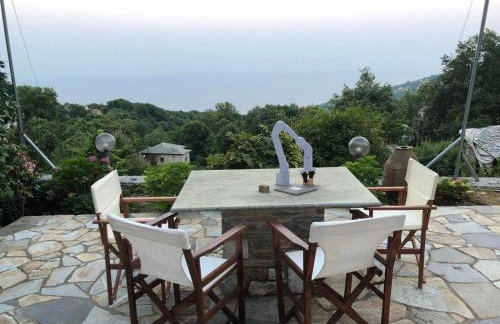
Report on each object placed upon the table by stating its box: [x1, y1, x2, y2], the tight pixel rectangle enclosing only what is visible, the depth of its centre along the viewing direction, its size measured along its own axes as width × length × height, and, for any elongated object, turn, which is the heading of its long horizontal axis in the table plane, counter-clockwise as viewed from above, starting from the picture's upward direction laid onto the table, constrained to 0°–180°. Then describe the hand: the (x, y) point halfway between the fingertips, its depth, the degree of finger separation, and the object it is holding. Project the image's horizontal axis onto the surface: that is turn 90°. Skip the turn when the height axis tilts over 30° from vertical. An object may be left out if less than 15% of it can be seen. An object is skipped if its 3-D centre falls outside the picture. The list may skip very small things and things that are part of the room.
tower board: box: [273, 183, 318, 196], centre depth 257 cm, size 20×20×1 cm
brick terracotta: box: [302, 177, 314, 186], centre depth 272 cm, size 6×4×4 cm, turn 43°
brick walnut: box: [258, 183, 270, 193], centre depth 256 cm, size 6×4×4 cm, turn 41°
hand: (308, 182), depth 272 cm, fingers open, 5 cm apart
